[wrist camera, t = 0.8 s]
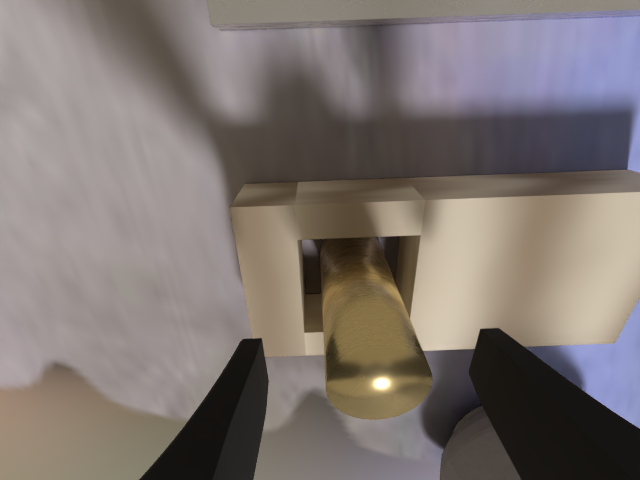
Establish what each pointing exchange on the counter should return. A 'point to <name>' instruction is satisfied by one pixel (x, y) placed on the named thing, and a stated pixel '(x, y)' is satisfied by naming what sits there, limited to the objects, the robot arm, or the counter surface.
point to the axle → (368, 334)
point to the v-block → (402, 12)
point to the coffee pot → (476, 451)
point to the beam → (453, 254)
